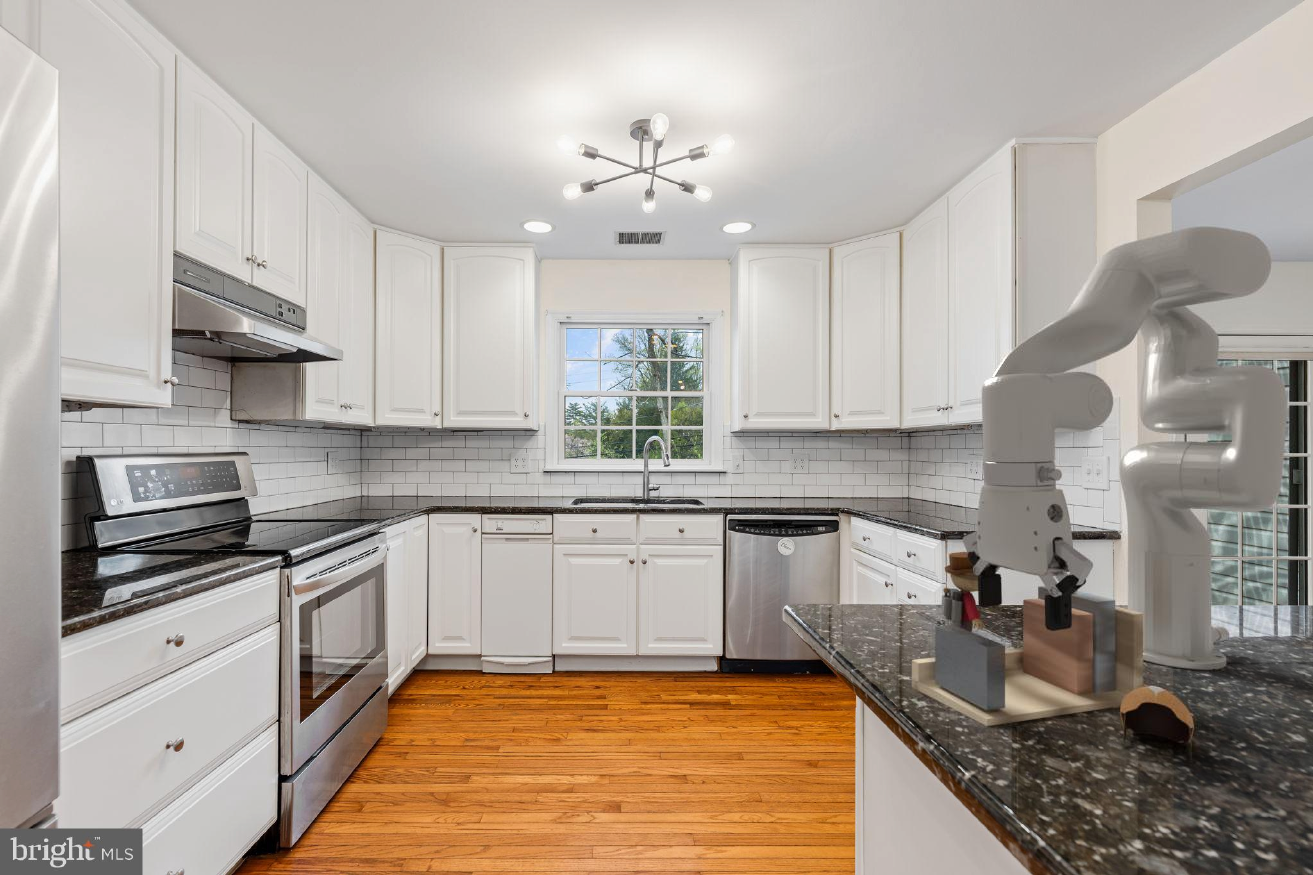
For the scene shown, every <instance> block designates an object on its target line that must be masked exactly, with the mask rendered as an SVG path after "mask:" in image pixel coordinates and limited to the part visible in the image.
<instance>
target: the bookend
mask: <svg viewBox="0 0 1313 875" xmlns="http://www.w3.org/2000/svg"><path fill="white" fill-rule="evenodd" d="M934 627H935V631H934V632H935V633H934V635H935V636H934V637H935V639H934V640H935V641H934V643H935V644H934V645H935V647H934V648H935V650H934V651H935V652H934V653H935V654H934V657H935V683H936V684H938V685H940V686H942V687H944V688H945V689H947V690H949V691H951V692H953V693H955V694H957V695H959V696H960V697H962V698H964V699H966V700H968V701H970V702H972V703H974V704H975V705H977V706H979V707H981V708H983V709H985V710H987V711H988V710H995V709H1002V708H1005V649H1006V645H1005V644H1003V643H1000V642H998V641H996V640H992V639H990V638H987V637H985V636H982V635H979V634H977V633H975V632H973V631H972V632H970V631H967V630H965V629H962V628H959V627H957V626H954V625H951V624H946V625H936V626H934Z"/></svg>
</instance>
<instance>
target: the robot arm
mask: <svg viewBox="0 0 1313 875" xmlns="http://www.w3.org/2000/svg"><path fill="white" fill-rule="evenodd" d="M1271 269H1272V258H1271V254H1270V251H1269V249H1268V247H1267V245H1266V244H1265V243H1264V241H1263V240H1261V238H1259V237H1258V236H1257V235H1255V234H1252V233H1249V232H1246V231H1243V230H1241V231H1240V230H1235V229H1230V228H1223V227H1217V226H1192V227H1187V228H1182V229H1179V230H1175V231H1171V232H1167V233H1162V234H1159V235H1154V236H1151V237H1146V238H1141V239H1139V240H1135V241H1131V242H1127V243H1124V244H1121V245H1118V246H1116V247H1114V248H1112V249H1110V250H1108V251H1107V252H1106V253H1105V254H1104V255H1102V257H1100V259H1099V260H1098V261H1097V263H1096V265H1095V266H1094V267H1093V269H1092V270H1091V272H1090V274H1089V275H1088V277H1087V279H1086V280H1085V282H1084V284H1083V286H1082V287H1081V288H1080V290H1079V292H1078V293H1077V295H1076V297H1075V298H1074V300H1073V302H1072V303H1071V305H1070V306H1069V308H1068V310H1067V311H1066V313H1065V314H1063V315H1061V316H1059V317H1058V318H1056V319H1054V320H1053V321H1051V322H1050V323H1048V324H1047V325H1046V326H1044V327H1043V328H1041V329H1040V330H1038V331H1036V332H1035V333H1034V334H1032V335H1031V336H1029V337H1028V338H1027V339H1025V340H1023V341H1022V342H1020V344H1018V345H1017V346H1016V347H1014V348H1013V349H1012V350H1011V351H1010V352H1009V353H1008V354H1007V355H1006V356H1005V357H1004V358H1003V360H1001V362H1000V364H998V367H997V368H996V370H995V372H994V373H993V374H992V376H991V377H988V378H987V379H986V380H985V381H984V382H983V384H982V388H981V417H982V421H981V422H982V453H983V455H982V456H983V457H982V458H983V459H982V460H983V462H982V463H983V464H982V465H983V485H982V486H981V489H980V495H979V500H978V509H977V517H976V518H977V520H976V521H977V523H976V530H975V531H974V532H971V533H970V534H967V535H965V536H963V538H962V542H963V546H964V547H965V550H966V551H965V552H968V555H967V556H968V559H969V560H970V562H971V563H972V565H973V566H974V567H973V571H974V573H975V574H976V575H979V576H978V591H977V596H978V597H977V600H978V602H977V603H978V607H981V608H988V607H989V608H991V607H997V606H1001V605H1002V604H1003V598H1002V597H1003V596H1002V593H1003V592H1002V590H1003V588H1002V584H1003V583H1002V576H1001V574H1000V573H997V572H998V571H999V570H1000V569H1001V568H1004V569H1006V570H1007V569H1008V570H1011V571H1016V572H1019V573H1023V574H1027V575H1032V576H1038V578H1040V580H1041V582H1042V583H1043V586H1046V588H1047V589H1048V591H1049V593H1050V594H1049V595H1045V627H1046V628H1047V629H1048V630H1051V631H1056V630H1062V629H1068V628H1071V626H1072V601H1071V595H1073V594H1076V593H1077V591H1079V589H1081V588H1082V587H1083V586H1084V585H1085V584H1086V582H1087V578H1088V577H1089V574H1090V573H1091V571H1092V569H1093V567H1094V563H1093V562H1092V560H1090V559H1089V558H1087V557H1086V556H1085V555H1084V554H1082V553H1081V552H1080V551H1078V550H1077V549H1075V548H1074V544H1073V542H1074V540H1073V533H1072V526H1071V519H1070V513H1069V508H1068V505H1067V500H1066V497H1065V494H1064V490H1063V489H1061V488H1057V485H1056V484H1057V481H1060V480H1062V479H1061V478H1062V475H1063V473H1062V471H1061V469H1058V468H1056V440H1055V439H1056V437H1055V433H1056V434H1064V433H1065V434H1069V433H1071V434H1072V433H1084V432H1088V431H1091V430H1094V429H1096V428H1098V427H1099V426H1101V425H1103V424H1104V423H1105V422H1106V421H1107V419H1108V418H1109V416H1110V415H1111V413H1112V411H1113V407H1114V396H1113V392H1112V389H1111V388H1110V386H1109V385H1108V383H1107V382H1106V381H1105V380H1104V379H1102V378H1101V377H1100V376H1098V375H1095V374H1093V373H1090V372H1086V371H1071V370H1074V369H1077V368H1080V367H1082V366H1086V365H1089V364H1091V363H1094V362H1096V361H1099V360H1102V359H1104V358H1106V357H1109V356H1111V355H1112V354H1115V353H1118V352H1119V351H1121V350H1123V349H1124V348H1126V347H1128V345H1130V344H1131V343H1132V342H1133V340H1134V339H1135V338H1136V335H1137V334H1138V332H1139V331H1140V333H1141V335H1142V339H1143V342H1144V358H1143V359H1144V361H1143V367H1142V368H1143V369H1142V377H1141V385H1140V386H1141V388H1140V397H1139V416H1140V421H1141V423H1142V425H1143V426H1144V427H1145V428H1146V429H1148V430H1150V431H1153V432H1155V433H1161V434H1168V435H1169V434H1173V435H1215V434H1216V435H1217V434H1219V435H1223V434H1224V435H1231V441H1153V442H1152V441H1151V442H1145V443H1140V444H1137V445H1136V446H1134V447H1131V448H1129V449H1128V450H1127V451H1126V452H1125V453H1124V454H1123V455H1122V458H1121V460H1120V463H1119V478H1120V479H1119V480H1120V484H1121V488H1122V492H1123V497H1124V502H1125V508H1126V519H1127V609H1128V610H1132V611H1136V612H1140V613H1143V661H1146V662H1149V663H1153V664H1156V665H1161V666H1167V667H1171V668H1177V669H1178V668H1179V669H1188V670H1196V671H1197V670H1200V671H1211V670H1213V669H1215V670H1219V669H1220V668H1221V669H1223V668H1225V667H1226V666H1227V657H1226V656H1225V654H1223V653H1222V652H1221V651H1219V650H1217V649H1214V643H1215V642H1218V641H1219V642H1220V641H1225V640H1228V639H1229V638H1230V632H1229V630H1228V629H1226V628H1225V627H1223V626H1215V627H1214V626H1212V554H1213V552H1212V540H1211V537H1210V534H1209V531H1208V530H1207V529H1206V527H1205V525H1204V524H1203V523H1202V522H1201V521H1200V519H1199V518H1198V517H1197V516H1196V515H1195V514H1194V512H1193V511H1192V510H1191V509H1194V510H1195V509H1196V510H1197V509H1200V510H1210V511H1226V512H1239V513H1240V512H1241V513H1257V512H1263V511H1265V510H1267V509H1270V508H1272V507H1273V506H1274V504H1275V503H1276V502H1277V500H1278V498H1279V495H1280V491H1281V488H1282V479H1283V470H1284V456H1285V446H1286V445H1285V444H1286V435H1287V433H1286V432H1287V421H1288V420H1287V419H1288V397H1287V396H1288V395H1287V390H1286V386H1285V384H1284V382H1283V380H1282V378H1281V376H1280V375H1279V374H1278V373H1277V372H1276V371H1275V370H1273V369H1271V368H1269V367H1267V366H1264V365H1258V364H1257V365H1255V364H1254V365H1253V364H1246V365H1245V364H1244V365H1229V366H1220V367H1219V366H1218V363H1219V349H1220V339H1219V335H1218V333H1217V332H1216V331H1215V329H1214V328H1213V327H1212V326H1211V325H1210V324H1209V323H1208V322H1207V321H1206V320H1204V319H1203V318H1202V317H1201V316H1200V315H1198V314H1196V313H1195V312H1194V311H1192V310H1191V309H1189V308H1188V307H1187V306H1193V305H1198V304H1199V305H1200V304H1205V303H1211V302H1218V301H1224V300H1231V299H1237V298H1242V297H1243V298H1244V297H1247V296H1251V295H1252V294H1254V293H1256V292H1257V291H1259V290H1260V289H1261V288H1262V287H1263V286H1265V283H1267V281H1268V279H1269V276H1270V274H1271ZM1068 573H1069V574H1068ZM1054 576H1055V577H1054ZM1213 671H1214V670H1213Z"/></svg>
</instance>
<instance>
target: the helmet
mask: <svg viewBox="0 0 1313 875" xmlns="http://www.w3.org/2000/svg"><path fill="white" fill-rule="evenodd" d="M1119 707H1120V710H1119V714H1120V720H1121V724H1122V726H1123V727H1122V728H1123V744H1124V745H1123V746H1124V748H1126V738H1127V730H1129V732H1131V733H1133V734H1146V735H1153V736H1157V737H1161V736H1162V737H1163V738H1165V739H1168V738H1169V740H1171V741H1173V742H1174V743H1175V742H1176V743H1178V744H1179V743H1180V744H1181V743H1185V744H1186V749H1187V752H1188V754H1189V757H1190V763H1191V764H1192V763H1193V762H1192V753H1193V752H1192V748H1193V747H1192V745H1193V744H1192V738H1193V734H1194V731H1195V726H1194V719H1193V716H1192V714H1191V712H1190V711H1189V709H1188V708H1187V706H1186V704H1184V703H1183V702H1182V700H1180V699H1179V698H1178V697H1176V696H1175V695H1174V694H1172V693H1171V692H1169V691H1168V690H1166V689H1165V688H1162V687H1160V686H1155V685H1147V686H1143V687H1141V688H1138V689H1135V690H1133V691H1131V692H1129V693H1128V694H1127V695H1126V696H1125V697H1124V698H1123V700H1122V703H1121V706H1119Z"/></svg>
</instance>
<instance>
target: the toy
mask: <svg viewBox="0 0 1313 875" xmlns="http://www.w3.org/2000/svg"><path fill="white" fill-rule="evenodd" d="M967 555H968V552H967V551H961V552H960V551H958V552H953V553H952V552H951V553H949V554H948V558H949V561H948V562H949V564H948V565H946V566H945V567H944V571H945V573H947V574H949V575H950V578H951V579H950V580H951V581H952V583H953V585H954V586H955V587H956V588H949V587H943V589H942V591H943V595H942V596H941V607H940V614H941V615H943V616H944V620H946V621H947V622H948V621H949V622H950V625H954V626H957V627H959V628H962V629H965V630H967V631H970V632H972V633H973V629H977V630H978V631H983V629H984V628H986V625H985V623H984V622H983V621H982V616H981V614H980V612H979V610H978V607H977V602H976V599H975V597H974V595H973V593H974V592H978V576H979V575H976V574H975V573H974V571H973V567H974V566H973V565H972V563H971V562H970V560H969V559H968V556H967Z"/></svg>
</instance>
